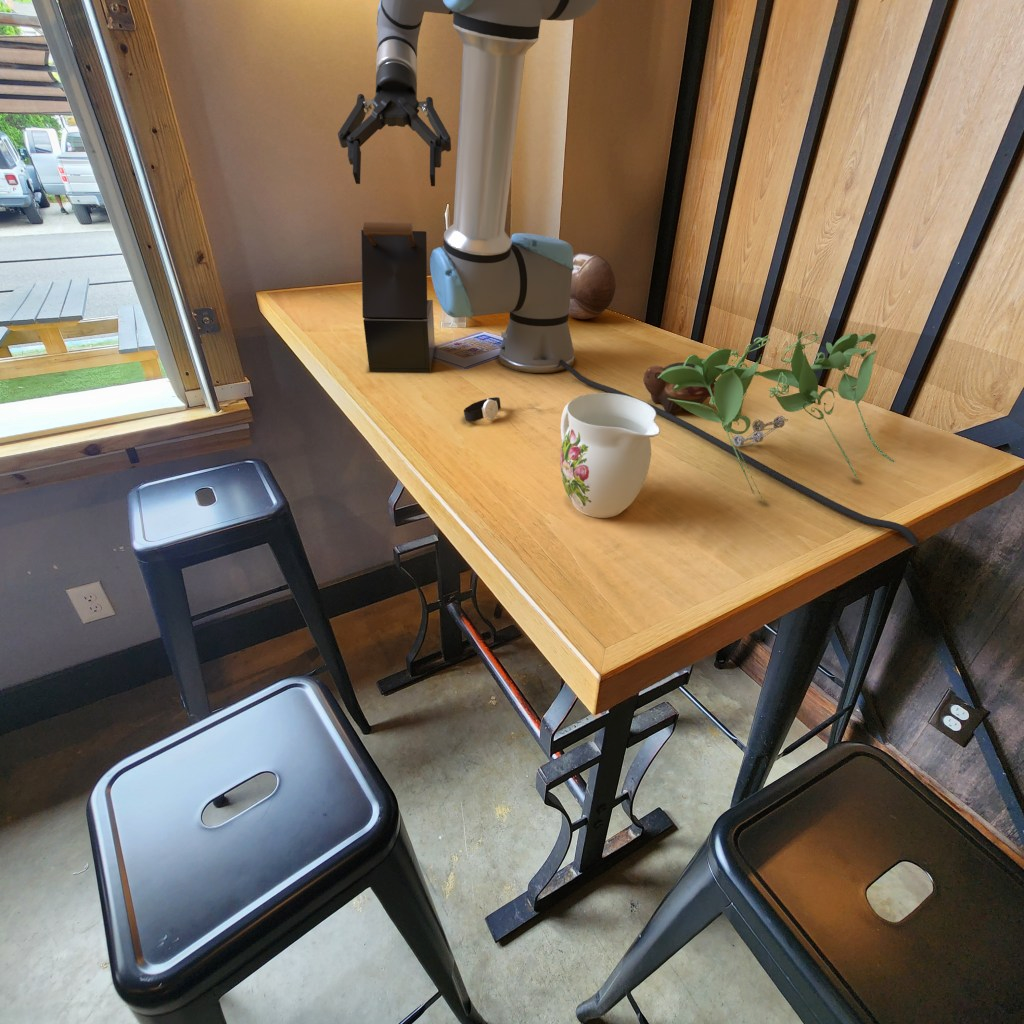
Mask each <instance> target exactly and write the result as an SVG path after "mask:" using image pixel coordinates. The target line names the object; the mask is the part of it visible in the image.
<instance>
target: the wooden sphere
mask: <svg viewBox="0 0 1024 1024" xmlns="http://www.w3.org/2000/svg"><path fill="white" fill-rule="evenodd" d="M573 267H574V270H573V271H572V282H571V294H570V305H569V316H570V317H571V318H574V319H578V320H589V319H593V318H595V317H598V316H599V315H601V314H602V313H604V312H605V311H606V310H607V309H608V307H609V306H610V305H611V303H612V301H613V300H614V297H615V293H616V286H617V284H616V283H617V282H616V275H615V272H614V270H613V268H612V266H611V265H610V264H609V262H608V261H607V260H606V259H605V258H603V257H602V256H600V255H598V254H596V253H593V252H580V253H576V254H573ZM569 316H568V317H569Z"/></svg>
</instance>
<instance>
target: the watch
mask: <svg viewBox="0 0 1024 1024" xmlns="http://www.w3.org/2000/svg"><path fill="white" fill-rule="evenodd" d="M501 408H502V406H501V398H500V397H499V396H498V397H497V396H495V397H487V398H485V399H481V400H479V401H476V402H473V403H472V404H470V405H468V406H466V407H465V408H464V409H463V414H464V418H465V421H466V422H476V421H480V420H482V419H486V420H487V421H491V420H494V419H495V418H497V415H498V413H499V410H500V409H501Z"/></svg>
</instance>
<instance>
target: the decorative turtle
mask: <svg viewBox="0 0 1024 1024" xmlns="http://www.w3.org/2000/svg"><path fill="white" fill-rule="evenodd" d="M684 363H685V361H684V362H682V361H681V362H676V363H671V364H668V365H666V366H664V367H663V366H660V365H651V366H649V367H648V368H647V369H646V370H645V372H644V374H643V379H642V380H643V384H644V387H645V389H646V390H647V392H648V393H649V394H650V398H651V402H653V403H654V404H660V403H661V405H662V406H663V409H664V411H666V412H668V413H670V414H672V415H673V414H674V413H675V412H677V411H679V409H681V408H682V407H681V406H679V405H678V404H677V403H675V402H674V401H672V400H669V399H668V398H670V399H676V400H683V401H690V402H696V403H700V404H703V403H704V402H705V401H706V400H708V398H712V397H711V395H710V393H709V391H708V389H707V387H699V386H690V387H686V388H683V389H680V390H677V391H675V392H673V389H674V387H675V386H676V385H675V384H671V383H668V382H666V381H664V380H662V379H661V378H658V376H659V375H660V374H661V373H662V372H663V371H665V370H666V369H668V368H671V367H675V366H683V365H684ZM685 366H689V367H692V368H694V369H695V364H686V365H685ZM716 381H717V379H715V380H714V382H713V383H712V384H711V385H710V388H711V391H712V394H713V396H714V386H715V384H714V383H716Z"/></svg>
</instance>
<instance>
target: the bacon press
mask: <svg viewBox="0 0 1024 1024" xmlns="http://www.w3.org/2000/svg"><path fill="white" fill-rule="evenodd" d="M413 229H414V228H413V223H412V222H393V221H392V222H390V221H363V222H362V229H360V243H361V244H360V245H361V246H360V248H361V251H360V252H361V303H362V304H361V305H362V307H361V308H362V309H361V310H362V311H361V312H362V318H363V319H364V318H376V319H427V300H428V244H427V243H428V242H427V241H428V236H427V230H426V231H423V230H413Z"/></svg>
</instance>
